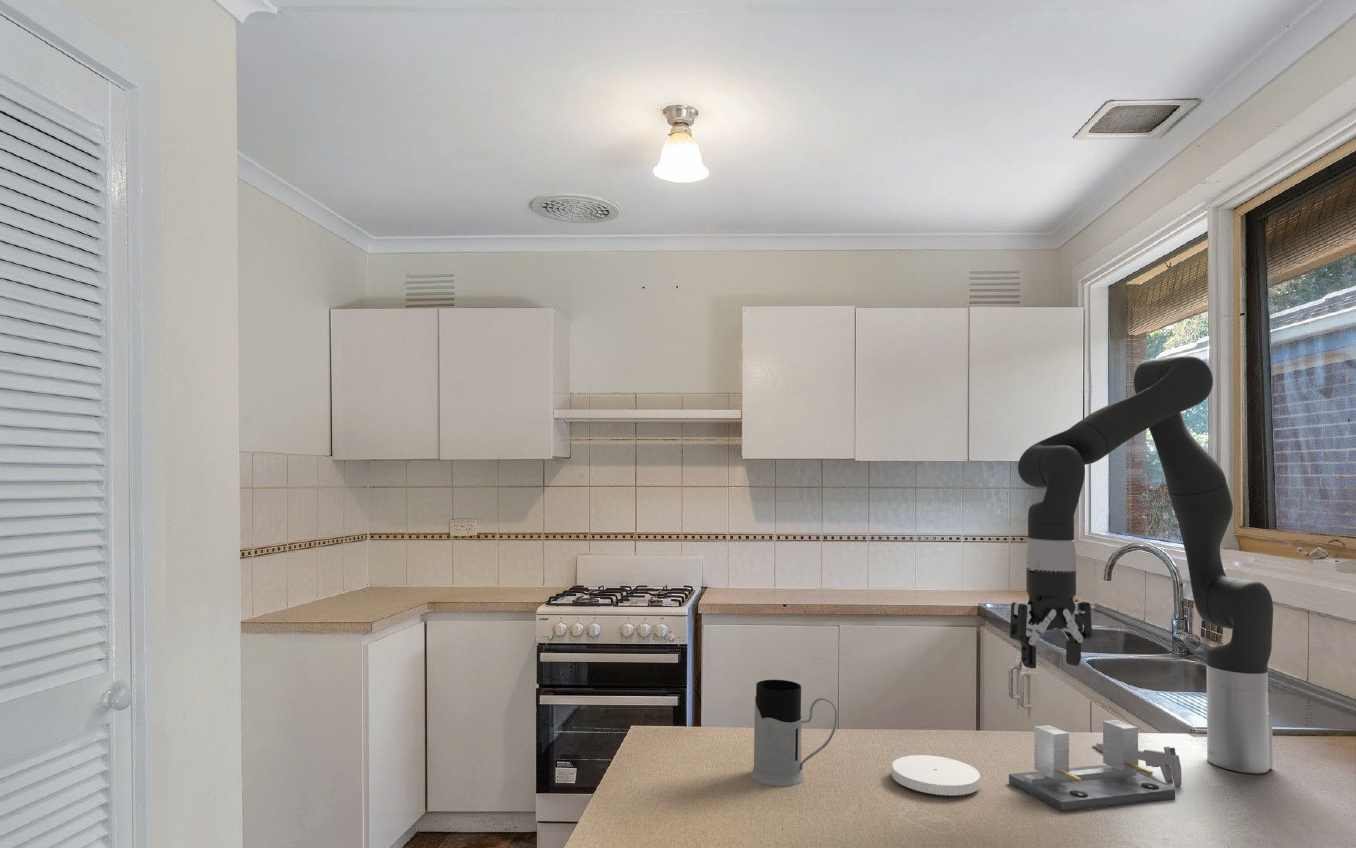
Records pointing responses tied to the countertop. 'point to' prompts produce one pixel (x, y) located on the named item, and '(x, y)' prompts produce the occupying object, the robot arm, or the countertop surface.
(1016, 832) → the countertop surface
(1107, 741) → the fixed leg
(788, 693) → the glass holder
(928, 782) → the plastic lid
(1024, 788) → the hole plate
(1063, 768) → the leg
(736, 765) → the countertop surface
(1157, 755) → the caliper
